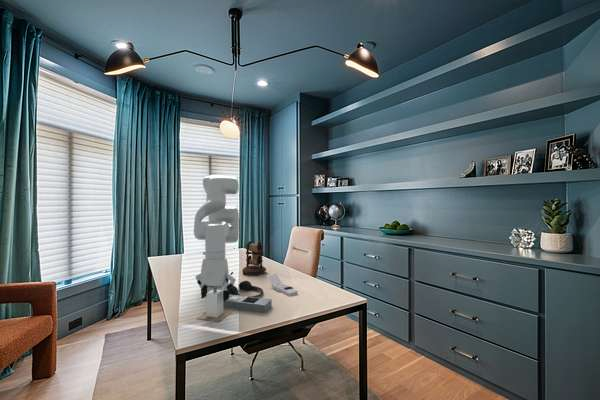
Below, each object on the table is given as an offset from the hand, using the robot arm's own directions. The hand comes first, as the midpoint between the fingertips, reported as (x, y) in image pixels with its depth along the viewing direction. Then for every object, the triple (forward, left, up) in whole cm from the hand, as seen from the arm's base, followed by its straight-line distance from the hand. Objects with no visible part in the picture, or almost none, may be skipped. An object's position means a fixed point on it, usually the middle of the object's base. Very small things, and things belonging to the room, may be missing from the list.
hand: (215, 298), depth 106 cm
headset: (0, +25, -8) cm, 26 cm away
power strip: (+5, +11, -7) cm, 14 cm away
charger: (0, 0, -6) cm, 6 cm away
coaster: (0, 0, -7) cm, 7 cm away
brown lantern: (-13, +63, -8) cm, 65 cm away
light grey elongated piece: (+15, +37, -8) cm, 40 cm away
